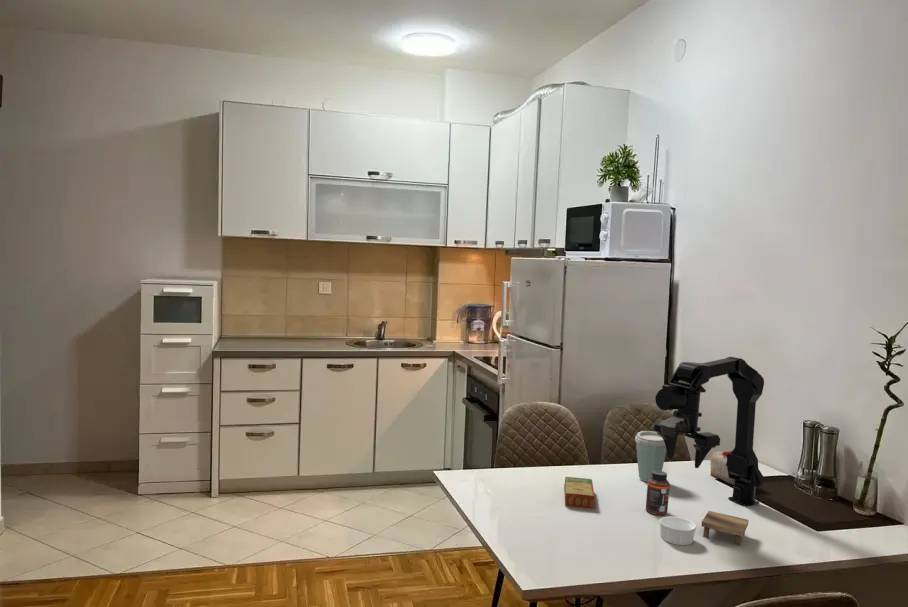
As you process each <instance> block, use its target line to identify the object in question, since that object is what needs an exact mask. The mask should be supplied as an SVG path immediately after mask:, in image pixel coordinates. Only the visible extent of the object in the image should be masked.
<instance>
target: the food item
mask: <svg viewBox="0 0 908 607" xmlns="http://www.w3.org/2000/svg"><path fill="white" fill-rule="evenodd" d="M731 452H732V450H731V451H718V450H717V451H712V452H711V453H710V464H709V465H710V476H712V477H715V478H716V479H719V480H721V481H723V482H725V483H727V484H729V483H730V484H729V485H731V484H732V485H731V486H733V485H734V481H735V480H734V479H731V478H729V475H728V470H727V466H726V463H727V454H728V453H731Z"/></svg>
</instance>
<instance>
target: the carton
mask: <svg viewBox="0 0 908 607" xmlns="http://www.w3.org/2000/svg"><path fill="white" fill-rule="evenodd" d="M593 484H594V483H593V480H592V478H585V477H573V476H565V477H564V484H563V485H564V486H563V491H564V506H565V507H570V508H571V507H572V508H580V507H581V509H588V508H589V509H590V510H594V509H595V507H594V505H595V498H596V497H595V491H594V485H593Z"/></svg>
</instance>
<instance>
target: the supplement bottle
mask: <svg viewBox="0 0 908 607" xmlns="http://www.w3.org/2000/svg"><path fill="white" fill-rule="evenodd" d="M667 478H668V473H667V472H665V471H663V470H662V471H653V472H652V478H650V479H649V480H648V482H647V488H646V498H645V499H646V501H645V510H646V511H647V512H648V513H649V514H652V513H653V515H659V516H663V515H666V514H667V513H668V510H669V507H668V506H669V499H670V498H669V496H670V484H671V483H670V482H669V481H668V479H667Z"/></svg>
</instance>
